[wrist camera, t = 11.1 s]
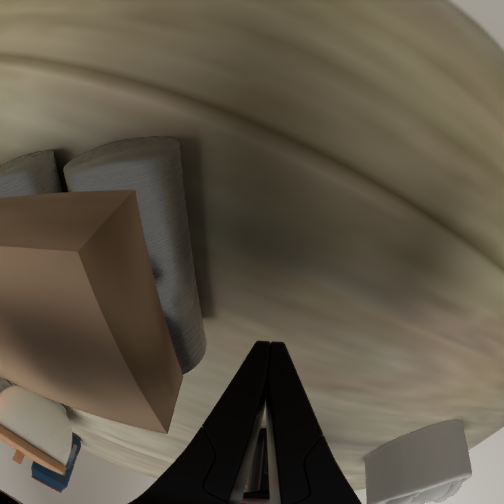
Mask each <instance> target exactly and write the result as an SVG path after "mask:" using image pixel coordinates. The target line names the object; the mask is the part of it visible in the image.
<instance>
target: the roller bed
mask: <svg viewBox="0 0 504 504" xmlns="http://www.w3.org/2000/svg"><path fill="white" fill-rule="evenodd" d="M63 171H64V175H65V180H66V184H67V188H68V192H84V191H106V190H135V191H136V196H137V202H138V207H139V212H140V217H141V222H142V227H143V232H144V236H145V241H146V246H147V250H148V254H149V259H150V263H151V267H152V271H153V275H154V279H155V283H156V287H157V291H158V295H159V299H160V303H161V306H162V310H163V313H164V317H165V321H166V324H167V327H168V331H169V334H170V338H171V341H172V344H173V347H174V351H175V354H176V357H177V360H178V363H179V366H180V369H181V372H182V375H183V374H185V373H187V372H189V371H190V370H192V369H193V368H194V367H195V366H197V364H198V363H199V362H200V361H201V359H202V358H203V356H204V354H205V351H206V337H205V331H204V325H203V320H202V314H201V308H200V301H199V295H198V289H197V282H196V276H195V269H194V262H193V255H192V248H191V240H190V233H189V225H188V217H187V208H186V200H185V191H184V181H183V172H182V161H181V151H180V143H179V141H177V140H175V139H173V138H168V137H142V138H133V139H127V140H122V141H118V142H113V143H110V144H106V145H103V146H100V147H97V148H94V149H91V150H89V151H87V152H84V153H82V154H80V155H78V156H77V157H75V158H73V159H72V160H70V161H69V162H68V163H67V164H66V165H65V166H64V169H63ZM51 193H63V192H62V188H61V184H60V180H59V176H58V171H57V167H56V162H55V158H54V153H53V151H50V150H46V151H40V152H35V153H31V154H28V155H25V156H22V157H19V158H17V159H14V160H12V161H10V162H8V163H5V164H3V165H1V166H0V198H4V197H15V196H26V195H38V194H51Z"/></svg>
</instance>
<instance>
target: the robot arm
mask: <svg viewBox="0 0 504 504" xmlns="http://www.w3.org/2000/svg"><path fill="white" fill-rule="evenodd" d="M269 354H270V355H269ZM266 392H267V393H266ZM265 402H266V427H267V430H260V427H261V422H262V418H263V414H264V409H265ZM202 426H203V427H201V428H200V429H199V431H198V432H197V434H196V435H195V437H194V438H193V439H192V441H191V442H190V444H189V445H188V446H187V448H186V449H185V450H184V451H183V452H182V454H181V455H180V456H179V457H178V458H177V459H176V461H175V462H174V463H173V464H172V465H171V466H170V467H169V468H168V469H167V470H166V471H165V472H164V473H163V474H162V475H161V476H160V477H159V478H158V479H157V480H156V481H155V483H153V484H152V485H151V486H150V487H149V488H148V489H147V490H146V491H145V492H144V493H143V494H142V495H140V496H139V497H138V498H137V499H135V500H133V501H132V502H130V503H128V504H241V503H246V504H362V503H361V502H360V500H359V499H358V497H357V495H356V494H355V493H354V491H353V489H352V488H351V486H350V484H349V483H348V481H347V480H346V478H345V476H344V475H343V473H342V471H341V470H340V468H339V466H338V464H337V463H336V461H335V459H334V457H333V455H332V452H331V450H330V448H329V446H328V444H327V441H326V439H325V437H324V436H322V435H323V432H322V430H321V428H320V425H319V423H318V421H317V418H316V416H315V414H314V411H313V409H312V407H311V404H310V402H309V400H308V397H307V395H306V392H305V390H304V388H303V385H302V383H301V381H300V378H299V376H298V374H297V371H296V369H295V367H294V364H293V362H292V359H291V357H290V355H289V352H288V350H287V348H286V345H285V344H284V343H283V342H274V341H273V342H271V343H270V342H269V341H256V343H255V344H254V346H253V347H252V349H251V351H250V352H249V354H248V355H247V357H246V359H245V360H244V362H243V363H242V365H241V367H240V368H239V370H238V371H237V373H236V374H235V376H234V378H233V379H232V381H231V382H230V384H229V385H228V387H227V389H226V390H225V392H224V393H223V395H222V396H221V398H220V399H219V401H218V402H217V404H216V406H215V407H214V409H213V410H212V412H211V413H210V415H209V416H208V418H207V419H206V421H205V422H204V424H203V425H202ZM246 483H247V487H246ZM245 487H246V492H244V490H245ZM0 504H23V503H21V502H20V501H18V500H16V499H15V498H14V497H12V496H10V495H8V494H7V493H5V492H4V491H2V490H0Z"/></svg>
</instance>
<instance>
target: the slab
mask: <svg viewBox="0 0 504 504" xmlns="http://www.w3.org/2000/svg"><path fill="white" fill-rule="evenodd" d="M0 376H1V377H3V378H5V379H7V380H9V381H11V382H13V383H15V384H17V385H19V386H21V387H23V388H26V389H28V390H30V391H32V392H35V393H37V394H39V395H42V396H44V397H46V398H49V399H51V400H54V401H56V402H59V403H61V404H64V405H67V406H70V407H72V408H75V409H78V410H81V411H84V412H87V413H90V414H93V415H96V416H99V417H102V418H106V419H109V420H112V421H116V422H119V423H123V424H127V425H130V426H134V427H138V428H142V429H147V430H151V431H155V432H160V433H165V434H168V430H169V427H170V423H171V419H172V415H173V412H174V408H175V404H176V401H177V397H178V393H179V390H180V386H181V383H182V379H183V375H182V372H181V369H180V366H179V363H178V360H177V357H176V354H175V351H174V347H173V344H172V341H171V338H170V334H169V331H168V327H167V324H166V321H165V317H164V313H163V310H162V306H161V303H160V299H159V295H158V291H157V287H156V283H155V279H154V275H153V271H152V267H151V263H150V259H149V254H148V250H147V246H146V241H145V236H144V232H143V227H142V222H141V217H140V212H139V207H138V202H137V196H136V191H135V190H106V191H84V192H66V193H51V194H38V195H26V196H15V197H4V198H0Z"/></svg>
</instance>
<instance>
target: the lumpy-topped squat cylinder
mask: <svg viewBox="0 0 504 504" xmlns="http://www.w3.org/2000/svg"><path fill="white" fill-rule="evenodd" d="M365 473H366V495H367V504H424V503H425V502H431V501H434V502H442V501H444V500H446V499H447V498H449V497H451V496H453V495H454V494H455V493H457V492H458V490H459V489H460V487H461V485H462V483H463V482H465V481H466V480H468V479H469V478H470V477H471V475H472V470H471V463H470V459H469V452H468V447H467V442H466V438H465V433H464V429H463V425H462V421H461V420H449V421H444V422H441V423H437V424H434V425H431V426H428V427H425V428H422V429H419V430H417V431H414V432H411V433H409V434H406V435H403V436H401V437H398V438H396V439H394V440H392V441H390V442H389V443H387V444H385V445H383V446H381V447H379V448H377V449H376V450H374V451H373V452H371V453H369V454H368V455H366V456H365Z"/></svg>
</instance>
